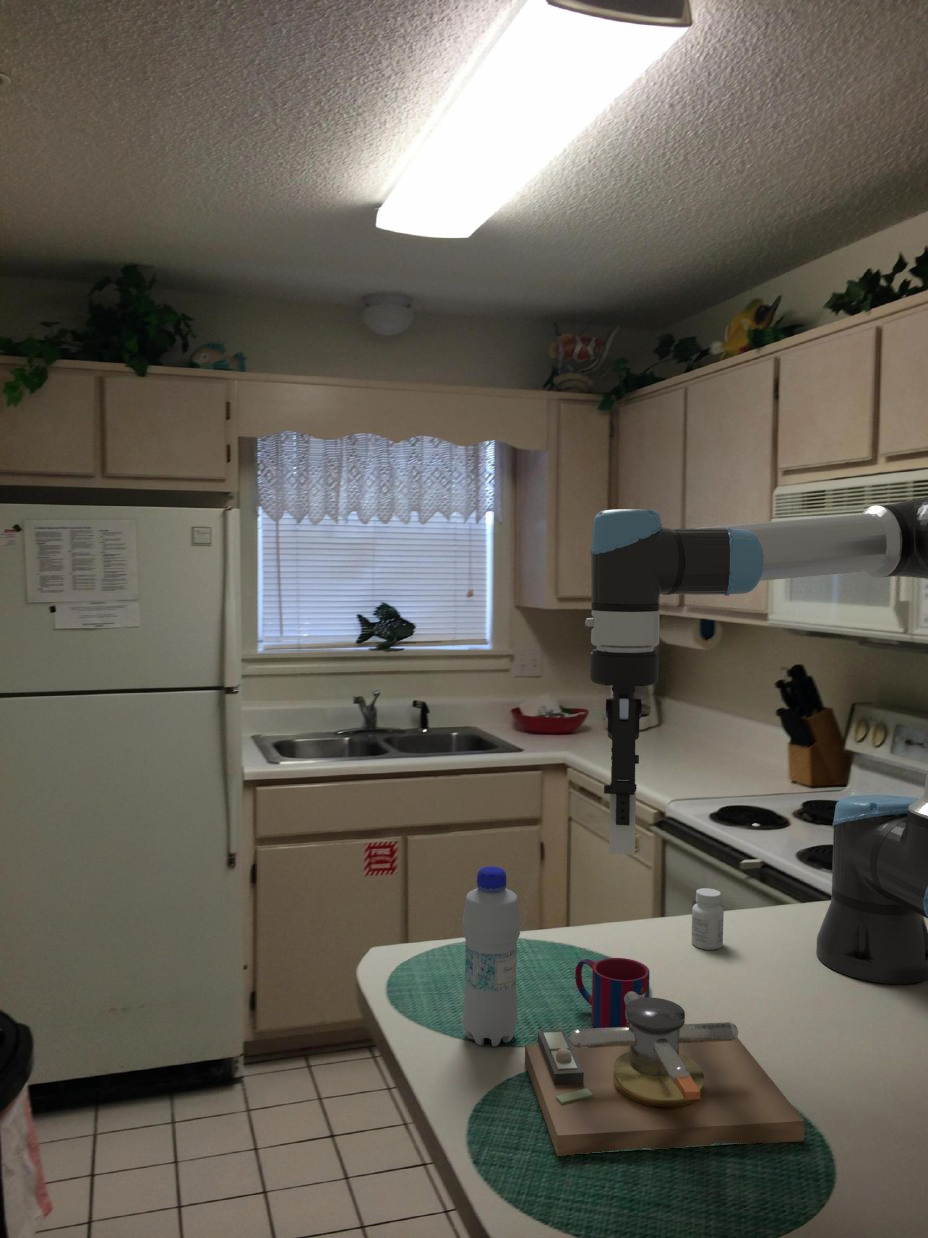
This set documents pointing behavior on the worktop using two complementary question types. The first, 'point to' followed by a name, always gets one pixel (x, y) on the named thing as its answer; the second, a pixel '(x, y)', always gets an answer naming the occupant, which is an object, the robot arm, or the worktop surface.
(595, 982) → the mug
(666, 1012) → the capstan
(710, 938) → the pill bottle
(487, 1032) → the bottle
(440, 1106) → the worktop surface
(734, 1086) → the stand
